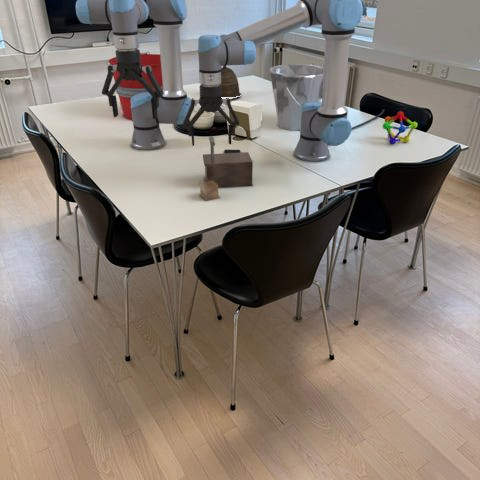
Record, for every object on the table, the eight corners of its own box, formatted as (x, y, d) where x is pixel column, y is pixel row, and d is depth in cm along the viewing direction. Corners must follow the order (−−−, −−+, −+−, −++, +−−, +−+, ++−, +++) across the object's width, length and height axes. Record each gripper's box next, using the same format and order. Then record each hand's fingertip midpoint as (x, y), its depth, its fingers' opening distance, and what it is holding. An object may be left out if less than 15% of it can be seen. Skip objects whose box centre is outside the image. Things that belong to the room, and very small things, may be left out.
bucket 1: (122, 105, 264) (115, 51, 248) (181, 105, 263) (177, 51, 248) (106, 122, 235) (96, 62, 219) (171, 123, 234) (167, 63, 218)
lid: (204, 166, 162) (203, 143, 158) (202, 156, 171) (201, 134, 166) (252, 164, 165) (253, 141, 160) (248, 154, 173) (248, 132, 168)
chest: (207, 188, 167) (206, 166, 163) (205, 177, 176) (204, 156, 171) (252, 185, 169) (252, 164, 165) (248, 175, 178) (248, 154, 173)
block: (206, 200, 159) (205, 188, 156) (200, 195, 162) (199, 182, 160) (218, 197, 161) (218, 185, 158) (212, 192, 164) (212, 180, 162)
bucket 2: (296, 138, 215) (301, 78, 201) (255, 124, 234) (256, 68, 219) (335, 125, 232) (342, 70, 217) (294, 113, 251) (297, 61, 236)
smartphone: (222, 162, 187) (224, 149, 200) (222, 163, 188) (224, 150, 200) (240, 162, 187) (240, 149, 200) (240, 163, 188) (240, 151, 200)
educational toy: (377, 146, 209) (379, 114, 202) (384, 138, 219) (386, 107, 211) (411, 149, 202) (415, 116, 195) (417, 141, 212) (420, 109, 204)
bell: (227, 105, 294) (202, 96, 282) (238, 66, 289) (213, 55, 277) (243, 108, 280) (217, 98, 268) (255, 66, 275) (229, 55, 263)
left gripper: (84, 50, 136) (95, 118, 148) (163, 52, 134) (168, 121, 145) (93, 46, 143) (104, 112, 154) (169, 48, 140) (174, 114, 152)
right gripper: (174, 87, 147) (177, 148, 159) (247, 86, 151) (246, 146, 162) (173, 82, 154) (177, 141, 165) (244, 81, 157) (243, 139, 168)
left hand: (135, 116), depth 150 cm, fingers open, 13 cm apart
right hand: (211, 144), depth 163 cm, fingers open, 13 cm apart
